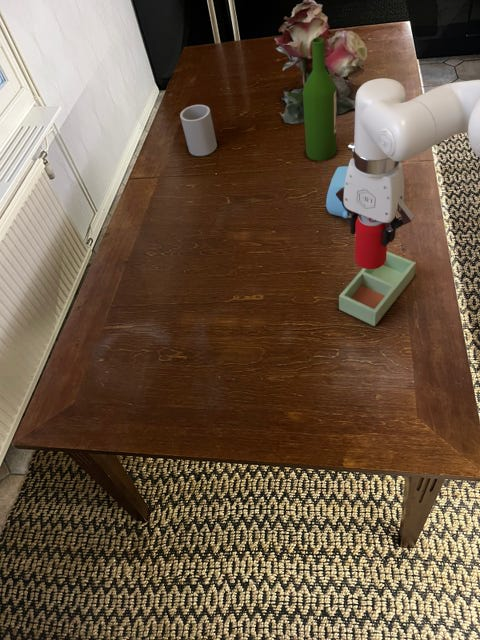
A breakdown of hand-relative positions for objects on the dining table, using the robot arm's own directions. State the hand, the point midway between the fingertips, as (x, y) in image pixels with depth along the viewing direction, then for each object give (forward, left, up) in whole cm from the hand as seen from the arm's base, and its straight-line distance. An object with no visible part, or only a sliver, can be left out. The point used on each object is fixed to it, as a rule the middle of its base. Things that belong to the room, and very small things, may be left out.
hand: (371, 235), depth 103 cm
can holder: (0, -4, -21) cm, 21 cm away
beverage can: (0, 0, -7) cm, 7 cm away
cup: (+77, -29, -21) cm, 85 cm away
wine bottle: (+42, -44, -21) cm, 65 cm away
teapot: (+21, -28, -21) cm, 41 cm away
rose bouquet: (+60, -69, -21) cm, 94 cm away
